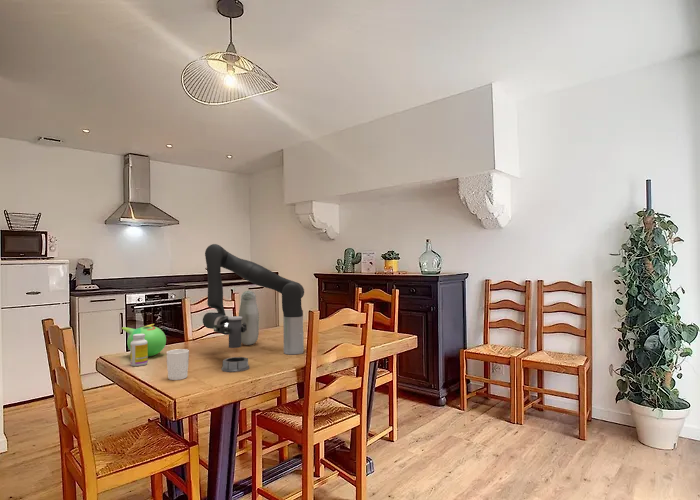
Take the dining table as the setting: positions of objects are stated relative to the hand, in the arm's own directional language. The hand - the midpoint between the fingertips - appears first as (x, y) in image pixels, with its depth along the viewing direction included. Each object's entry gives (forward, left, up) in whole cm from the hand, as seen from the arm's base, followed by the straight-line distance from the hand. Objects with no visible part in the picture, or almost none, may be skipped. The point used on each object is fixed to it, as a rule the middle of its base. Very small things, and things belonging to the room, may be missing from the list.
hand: (237, 330), depth 175 cm
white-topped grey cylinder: (+1, -2, -7) cm, 7 cm away
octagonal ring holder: (+1, -2, -16) cm, 16 cm away
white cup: (+20, +10, -16) cm, 28 cm away
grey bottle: (+5, -51, -16) cm, 54 cm away
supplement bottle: (+44, -12, -16) cm, 49 cm away
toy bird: (+48, -28, -16) cm, 58 cm away
